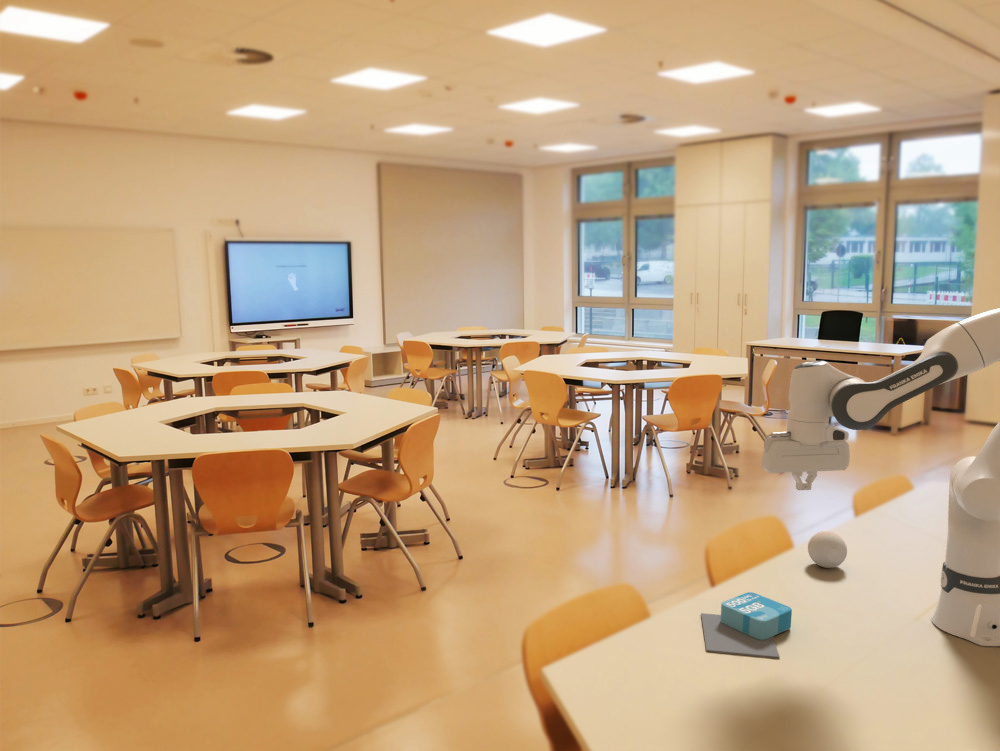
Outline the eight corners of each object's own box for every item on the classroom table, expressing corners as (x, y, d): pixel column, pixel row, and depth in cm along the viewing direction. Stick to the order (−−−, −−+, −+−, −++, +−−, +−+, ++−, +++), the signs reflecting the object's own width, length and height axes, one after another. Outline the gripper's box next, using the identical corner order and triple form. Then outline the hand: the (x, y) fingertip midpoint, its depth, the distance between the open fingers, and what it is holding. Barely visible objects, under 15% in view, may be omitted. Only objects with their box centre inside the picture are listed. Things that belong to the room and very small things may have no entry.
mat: (767, 620, 181) (767, 619, 181) (779, 658, 163) (779, 656, 163) (701, 614, 184) (701, 613, 184) (706, 651, 166) (706, 649, 166)
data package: (763, 622, 169) (718, 603, 179) (761, 641, 170) (717, 621, 179) (794, 608, 176) (750, 590, 186) (793, 627, 177) (749, 608, 186)
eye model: (836, 559, 219) (839, 526, 217) (852, 574, 209) (854, 538, 207) (801, 559, 219) (803, 525, 217) (814, 573, 209) (817, 538, 207)
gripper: (771, 435, 172) (768, 495, 174) (855, 432, 175) (851, 491, 177) (758, 429, 178) (755, 487, 180) (839, 427, 182) (835, 484, 184)
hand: (803, 489), depth 179 cm, fingers closed
